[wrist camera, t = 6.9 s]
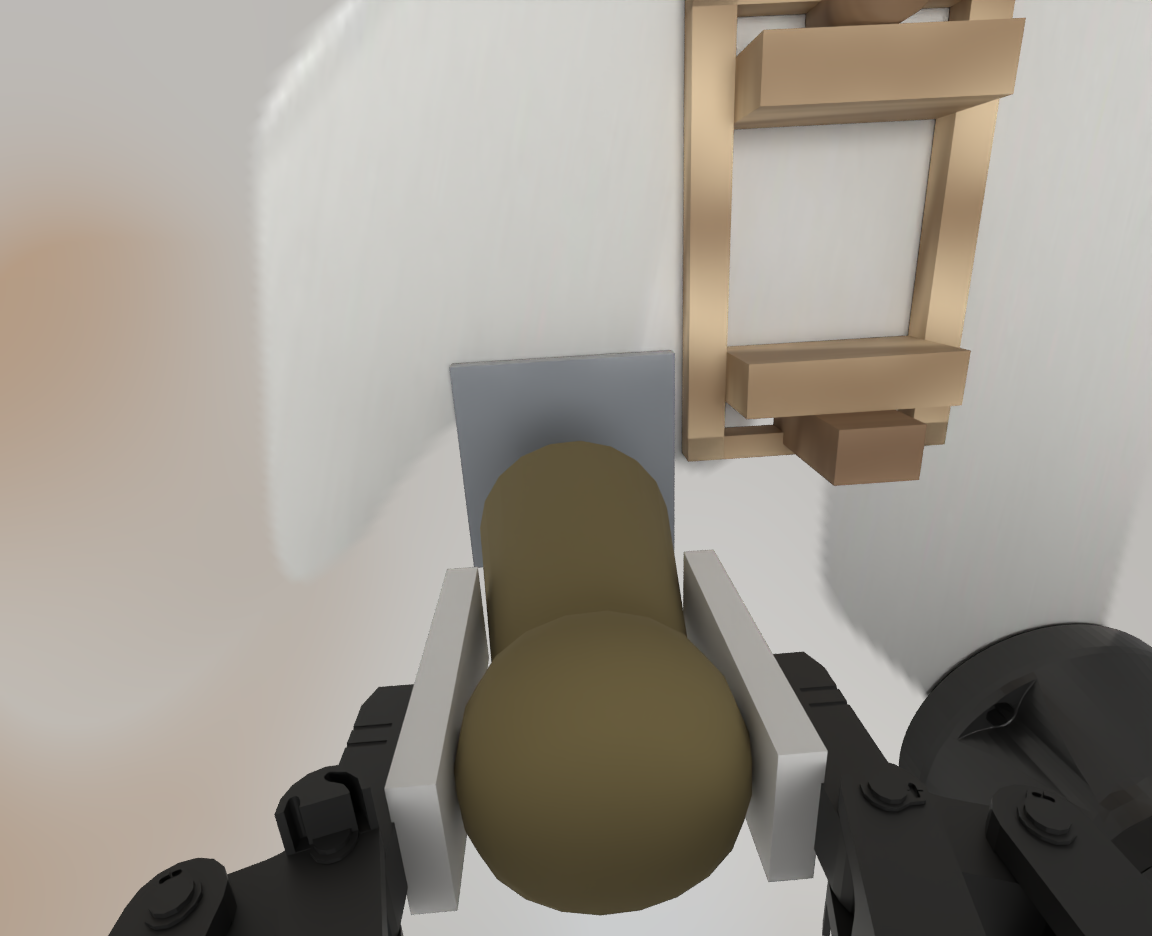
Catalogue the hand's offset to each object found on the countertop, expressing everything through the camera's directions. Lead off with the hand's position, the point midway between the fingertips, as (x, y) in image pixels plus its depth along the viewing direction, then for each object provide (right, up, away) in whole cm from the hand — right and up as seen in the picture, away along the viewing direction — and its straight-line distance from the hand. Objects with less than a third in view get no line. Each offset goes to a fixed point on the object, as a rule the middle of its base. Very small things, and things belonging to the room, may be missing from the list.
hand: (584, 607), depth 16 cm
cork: (0, +2, +4) cm, 4 cm away
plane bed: (+9, +13, +8) cm, 18 cm away
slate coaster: (-1, +4, +11) cm, 12 cm away
